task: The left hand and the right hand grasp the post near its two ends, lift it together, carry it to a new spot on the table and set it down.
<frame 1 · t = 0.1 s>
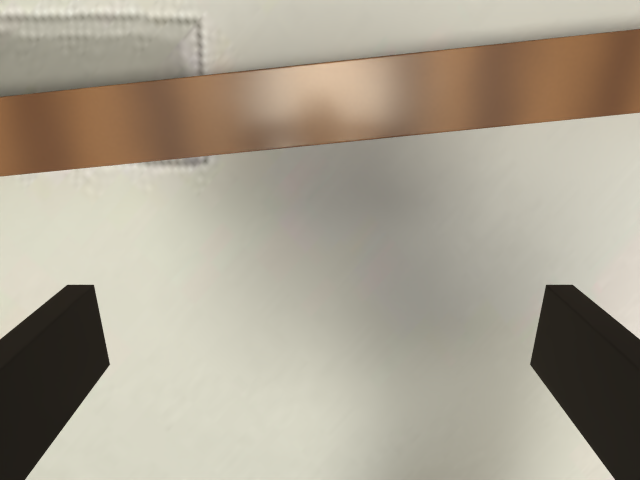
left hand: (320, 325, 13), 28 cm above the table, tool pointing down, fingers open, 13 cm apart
post: (278, 104, 37), on the table
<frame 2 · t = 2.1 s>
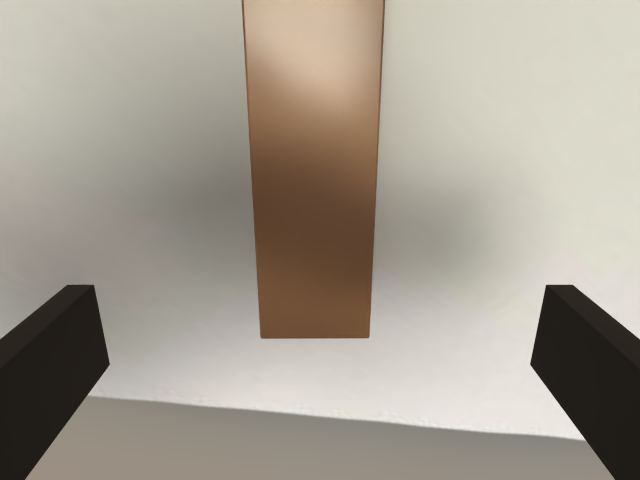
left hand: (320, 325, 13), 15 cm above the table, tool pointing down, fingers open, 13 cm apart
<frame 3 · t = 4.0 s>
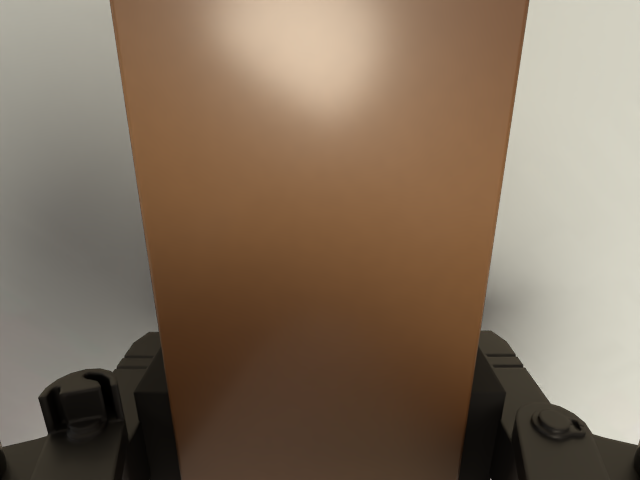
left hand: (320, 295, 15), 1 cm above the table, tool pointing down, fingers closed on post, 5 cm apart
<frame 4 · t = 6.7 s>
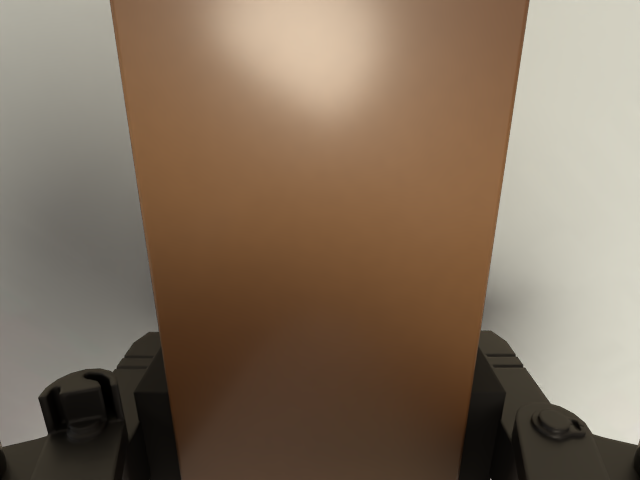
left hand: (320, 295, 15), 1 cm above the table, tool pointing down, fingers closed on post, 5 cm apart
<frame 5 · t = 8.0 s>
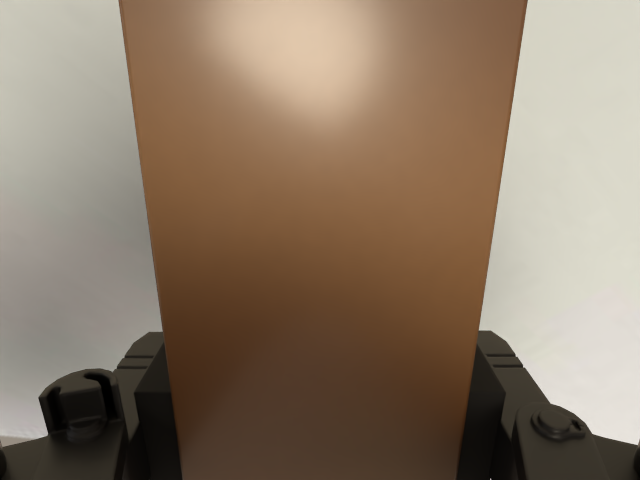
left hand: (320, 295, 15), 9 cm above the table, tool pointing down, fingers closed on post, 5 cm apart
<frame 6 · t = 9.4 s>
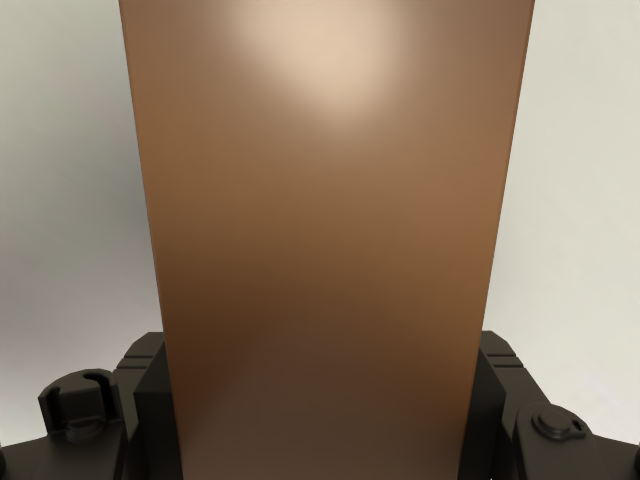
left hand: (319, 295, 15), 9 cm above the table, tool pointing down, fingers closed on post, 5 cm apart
when the left hand's fingers open (2 cm above the table, at t = 11.9 s): post drops 2 cm, on the table.
when the right hand's fingers open (4 cm above the table, at t = 12.1 s): post stays where it is, on the table.
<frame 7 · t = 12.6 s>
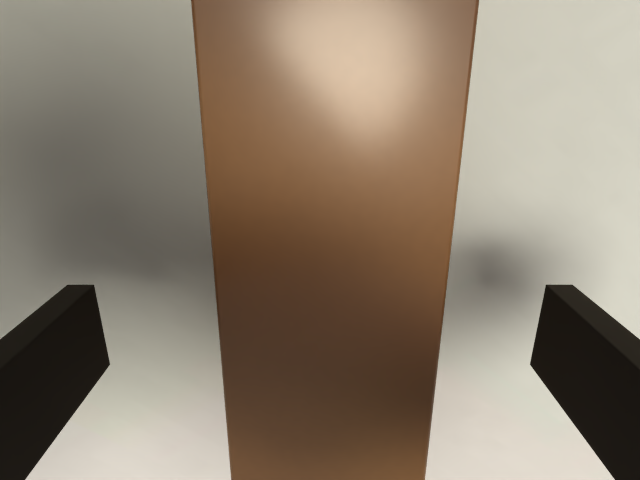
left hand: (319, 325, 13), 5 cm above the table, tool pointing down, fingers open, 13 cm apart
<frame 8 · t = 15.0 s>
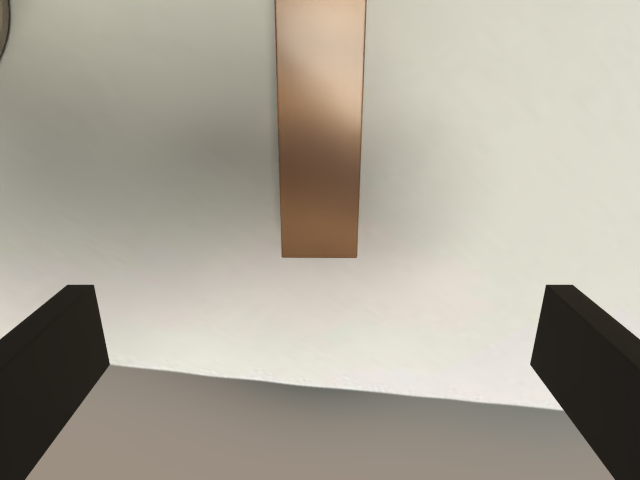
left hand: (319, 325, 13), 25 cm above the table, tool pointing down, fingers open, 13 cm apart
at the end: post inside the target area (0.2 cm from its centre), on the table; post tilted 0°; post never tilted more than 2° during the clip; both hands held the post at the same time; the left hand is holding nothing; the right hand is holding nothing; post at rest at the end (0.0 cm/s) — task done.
